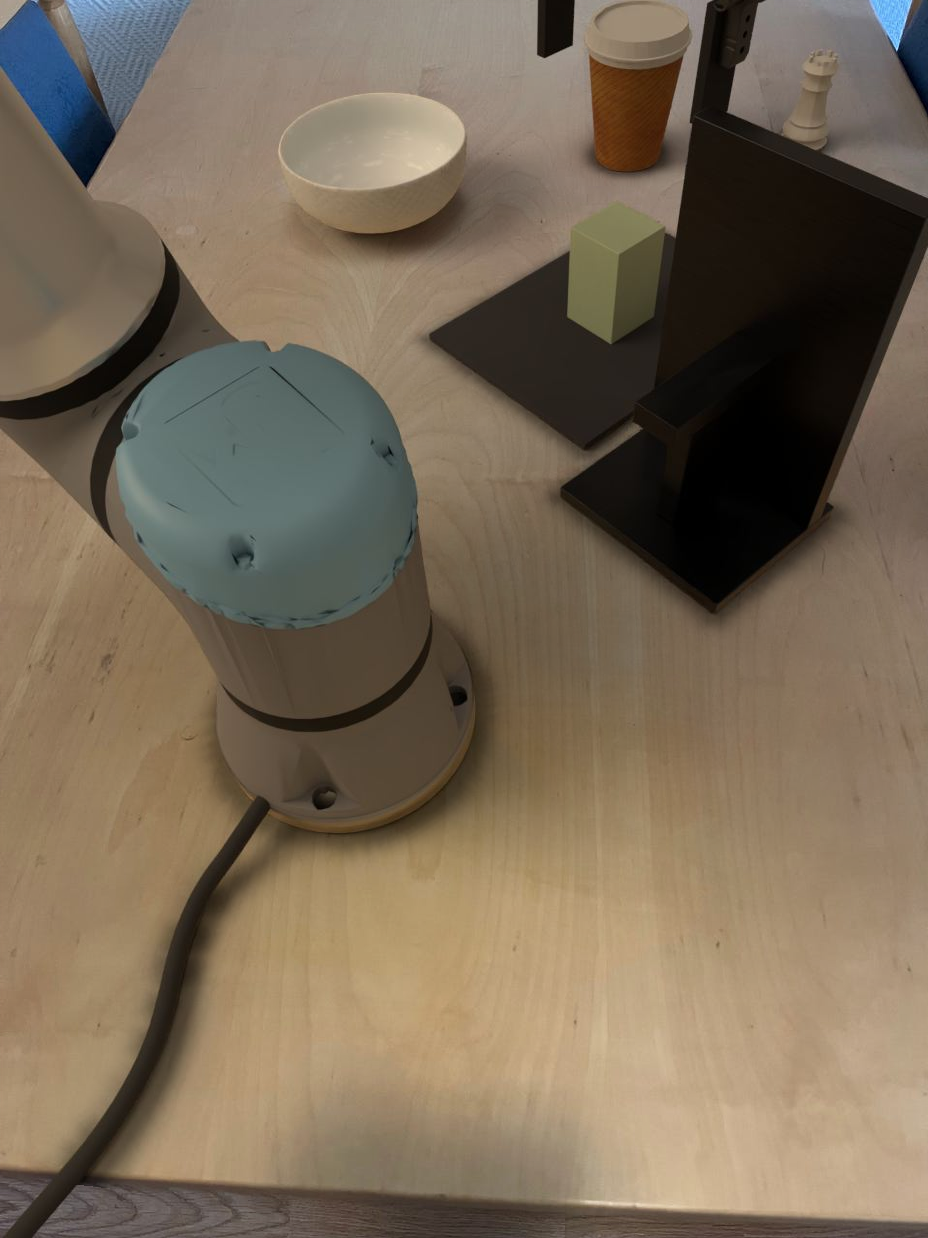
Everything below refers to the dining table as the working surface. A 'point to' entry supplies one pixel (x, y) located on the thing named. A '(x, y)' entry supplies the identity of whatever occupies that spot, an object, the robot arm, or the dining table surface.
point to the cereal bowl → (374, 161)
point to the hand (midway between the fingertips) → (627, 82)
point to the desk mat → (559, 353)
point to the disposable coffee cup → (634, 78)
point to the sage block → (614, 271)
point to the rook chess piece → (812, 102)
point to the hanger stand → (757, 356)
